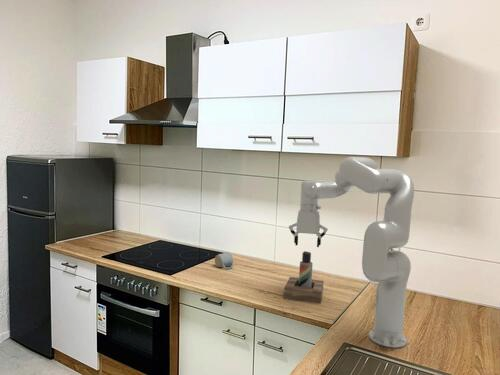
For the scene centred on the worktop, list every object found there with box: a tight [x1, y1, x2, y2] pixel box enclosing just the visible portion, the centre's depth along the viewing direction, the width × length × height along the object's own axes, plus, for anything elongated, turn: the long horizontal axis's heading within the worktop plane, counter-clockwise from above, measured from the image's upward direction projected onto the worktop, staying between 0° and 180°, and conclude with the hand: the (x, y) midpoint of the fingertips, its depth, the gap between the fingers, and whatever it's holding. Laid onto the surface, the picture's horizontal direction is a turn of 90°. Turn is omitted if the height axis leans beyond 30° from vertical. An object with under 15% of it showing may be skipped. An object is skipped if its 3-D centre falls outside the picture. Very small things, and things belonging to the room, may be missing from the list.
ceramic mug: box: [214, 251, 234, 271], centre depth 212 cm, size 11×8×8 cm
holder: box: [283, 276, 325, 304], centre depth 174 cm, size 16×16×5 cm
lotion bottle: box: [298, 250, 314, 288], centre depth 173 cm, size 6×6×20 cm
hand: (307, 245), depth 172 cm, fingers open, 9 cm apart
